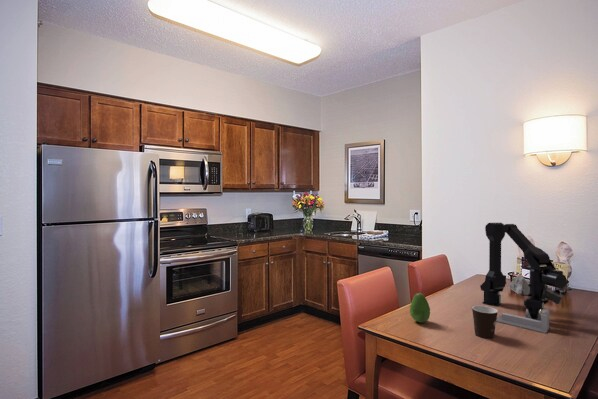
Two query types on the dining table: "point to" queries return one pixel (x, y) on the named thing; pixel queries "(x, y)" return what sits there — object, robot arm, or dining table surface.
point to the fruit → (420, 308)
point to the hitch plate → (527, 321)
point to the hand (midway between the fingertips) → (537, 319)
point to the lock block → (530, 316)
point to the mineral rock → (519, 285)
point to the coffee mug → (484, 321)
